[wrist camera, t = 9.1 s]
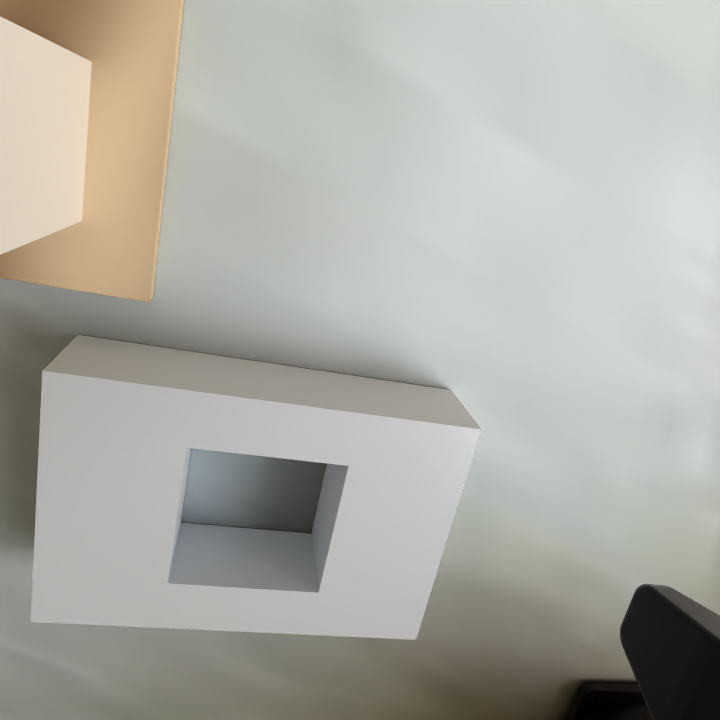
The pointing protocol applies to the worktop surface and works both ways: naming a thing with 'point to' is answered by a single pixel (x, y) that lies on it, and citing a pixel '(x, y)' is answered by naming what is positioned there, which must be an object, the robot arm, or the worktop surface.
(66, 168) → the plug
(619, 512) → the worktop surface
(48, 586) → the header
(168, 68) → the mat
